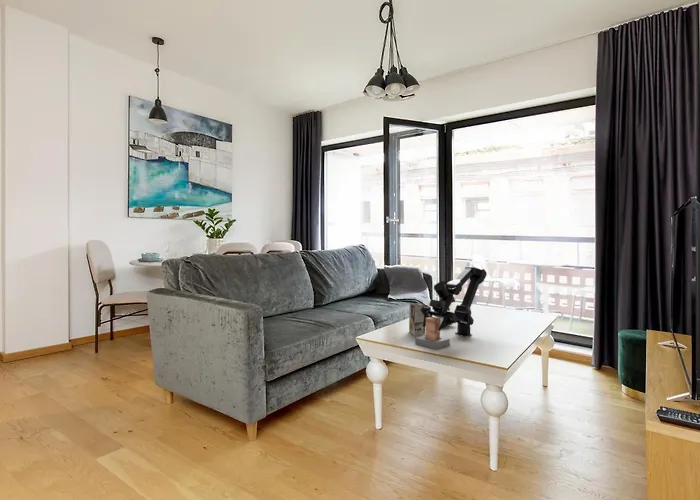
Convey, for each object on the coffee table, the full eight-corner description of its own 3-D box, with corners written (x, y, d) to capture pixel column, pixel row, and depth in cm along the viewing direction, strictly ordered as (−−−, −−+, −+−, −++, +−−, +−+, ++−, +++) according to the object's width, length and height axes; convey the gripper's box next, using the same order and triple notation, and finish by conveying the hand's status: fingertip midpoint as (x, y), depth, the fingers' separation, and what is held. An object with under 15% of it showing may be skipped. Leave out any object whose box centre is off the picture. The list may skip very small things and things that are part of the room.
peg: (431, 342, 200) (431, 316, 199) (439, 344, 196) (440, 318, 195) (425, 344, 197) (425, 318, 196) (433, 346, 193) (434, 319, 192)
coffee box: (425, 335, 211) (426, 305, 211) (414, 336, 210) (414, 306, 210) (419, 331, 220) (420, 302, 220) (408, 331, 219) (409, 302, 218)
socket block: (429, 339, 205) (429, 333, 205) (449, 344, 196) (449, 338, 196) (415, 343, 197) (415, 337, 197) (435, 349, 188) (435, 343, 188)
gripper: (423, 291, 204) (408, 315, 198) (454, 296, 191) (440, 322, 184) (431, 304, 210) (418, 328, 203) (463, 310, 196) (449, 336, 190)
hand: (431, 328), depth 195 cm, fingers open, 9 cm apart
